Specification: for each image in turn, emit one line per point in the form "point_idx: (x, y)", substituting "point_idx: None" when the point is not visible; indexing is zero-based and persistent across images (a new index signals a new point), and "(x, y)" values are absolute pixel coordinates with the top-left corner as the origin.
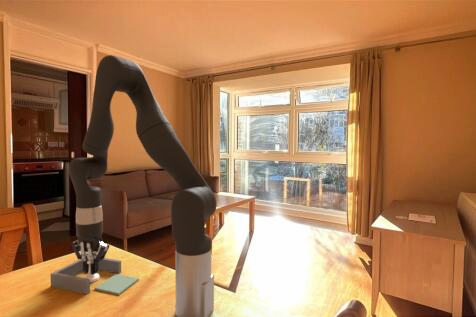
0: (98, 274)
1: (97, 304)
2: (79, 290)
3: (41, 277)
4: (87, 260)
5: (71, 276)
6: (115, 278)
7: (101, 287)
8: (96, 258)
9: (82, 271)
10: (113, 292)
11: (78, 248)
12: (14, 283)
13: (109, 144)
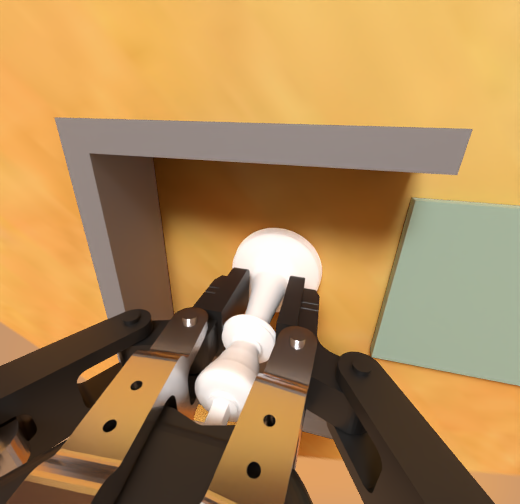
0: (300, 249)
1: (460, 435)
2: None
3: (62, 286)
4: (214, 342)
5: None
6: (447, 259)
7: (410, 353)
8: (347, 449)
9: (158, 199)
10: (510, 380)
11: (52, 426)
12: (40, 331)
13: None
